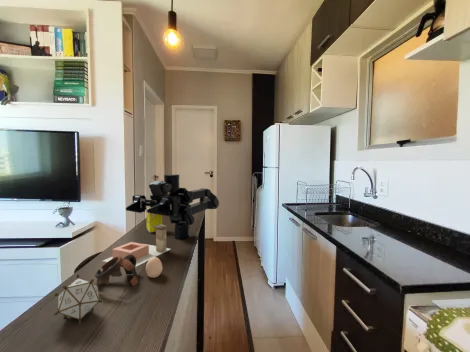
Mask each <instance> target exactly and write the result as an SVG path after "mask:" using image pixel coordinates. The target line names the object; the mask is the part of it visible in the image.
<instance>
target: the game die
mask: <svg viewBox="0 0 470 352" xmlns="http://www.w3.org/2000/svg"><path fill="white" fill-rule="evenodd" d="M94 281H95V279H94V278H93V279H91V280H88V279H87V280H86V279H84V278H80V274H78V273H77V275H76V278H75V279H74V280H73V281H72V282H71V283H70V284H68V285H67V286H66V285H62V289H63V290H62V291H60V292H59V293H54V294H53V296H54V297H57V311H55V312H54V313H53V316H54V317H55V316H57V315H58V314H60V315H63V317H64V318H66V317H67V316H68V317H70V318H72V319H76V320H78V324H79V325H81V324H82V319H83V318H84V317H85V316H86V315H87V314H88V313H89V312H90V311H91V310H92V309H94V308H95V306H96V305H97V304H98V303H103V302H104V300H103V299H100V293H99V288H98V287H100V286H101V285H102V284H101V283H98V284H97V283H94Z"/></svg>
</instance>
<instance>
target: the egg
mask: <svg viewBox="0 0 470 352" xmlns="http://www.w3.org/2000/svg"><path fill="white" fill-rule="evenodd" d="M146 262H147V263H146V265H145V273H146V275H147V276H148V277H149V278H153V279H154V278H157V277H159V276H160V275H161V273H162V271H163V263H162V261H161V260H160V258H159V257H158V256H156V257H153V258H151V259H150V260H148V261H146Z"/></svg>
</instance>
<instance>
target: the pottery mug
mask: <svg viewBox="0 0 470 352" xmlns="http://www.w3.org/2000/svg"><path fill="white" fill-rule="evenodd" d="M121 268H123V270H124V272H125V274H126V275H130V276H131V275H132V278H131V279H130V281H129V283H130V284H131V286H132V287H134V286H136V285H137V284H139V282H140V278H139V275H138V273H137V270H136V268H137V266H136V257H135V256H134V255H132V254H130V255H127V256H125V257H124V258H123V259H122V257H121V256H117V257H115V258H113V259H111V260H110V261H108V262H105V263H104V264H103V265H101V269H102V271H101V269H98V270H97V271H96V272H95V273H94V278H96V285H97V284H98V283H101V284H100V285H104V284H106V285H109V284H110V277H115V278H116V277H117V278H118V277H119V278H120V277H121V276H123V274H122V270H121Z"/></svg>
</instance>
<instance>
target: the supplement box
mask: <svg viewBox="0 0 470 352" xmlns="http://www.w3.org/2000/svg"><path fill="white" fill-rule="evenodd" d="M149 208H150V207H146V210H145V212H146V216H145V217H146V232H147V233H149V234H152V233H156V226H158V225H163V215H157V214H152V213H147V209H149Z"/></svg>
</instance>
